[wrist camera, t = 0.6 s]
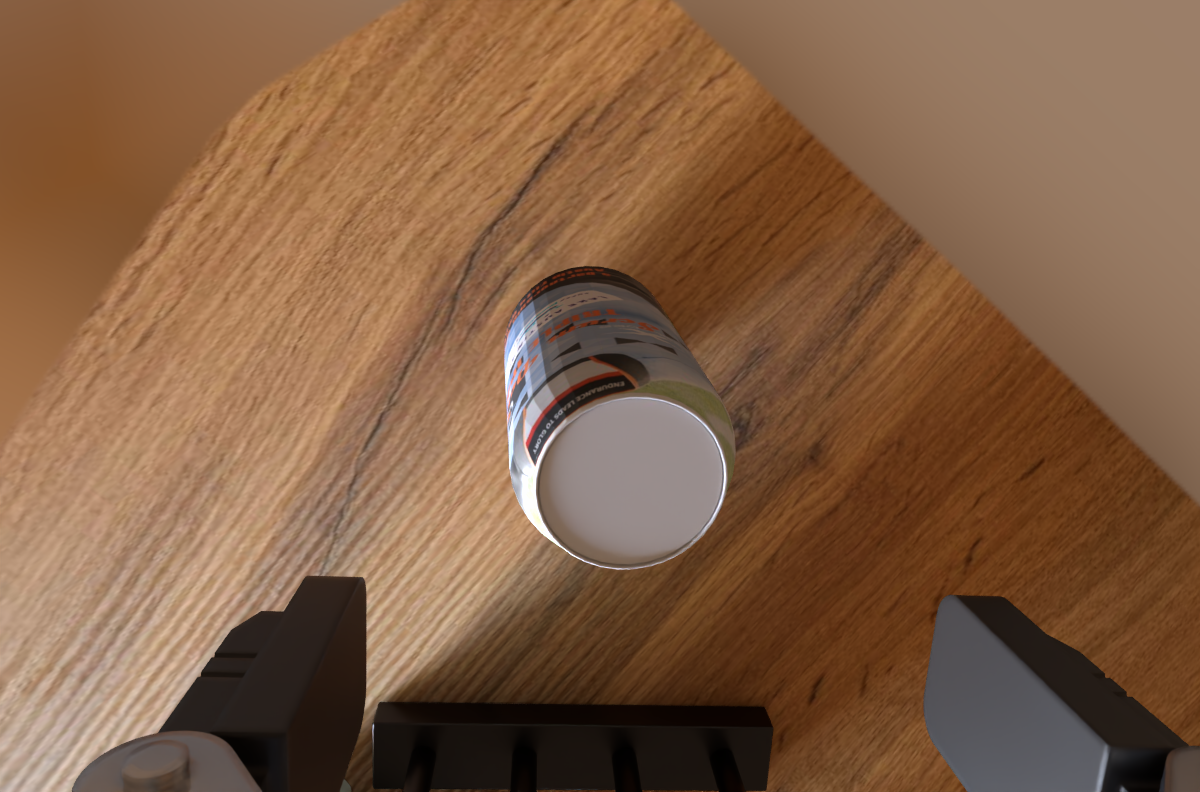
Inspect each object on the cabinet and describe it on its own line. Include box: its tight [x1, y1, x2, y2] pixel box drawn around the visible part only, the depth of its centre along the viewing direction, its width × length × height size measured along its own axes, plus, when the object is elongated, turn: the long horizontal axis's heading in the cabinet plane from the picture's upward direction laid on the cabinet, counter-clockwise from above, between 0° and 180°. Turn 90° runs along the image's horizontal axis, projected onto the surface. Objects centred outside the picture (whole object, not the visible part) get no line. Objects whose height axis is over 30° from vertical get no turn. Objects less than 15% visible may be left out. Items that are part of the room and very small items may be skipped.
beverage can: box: [504, 266, 736, 569], centre depth 27 cm, size 6×7×12 cm
